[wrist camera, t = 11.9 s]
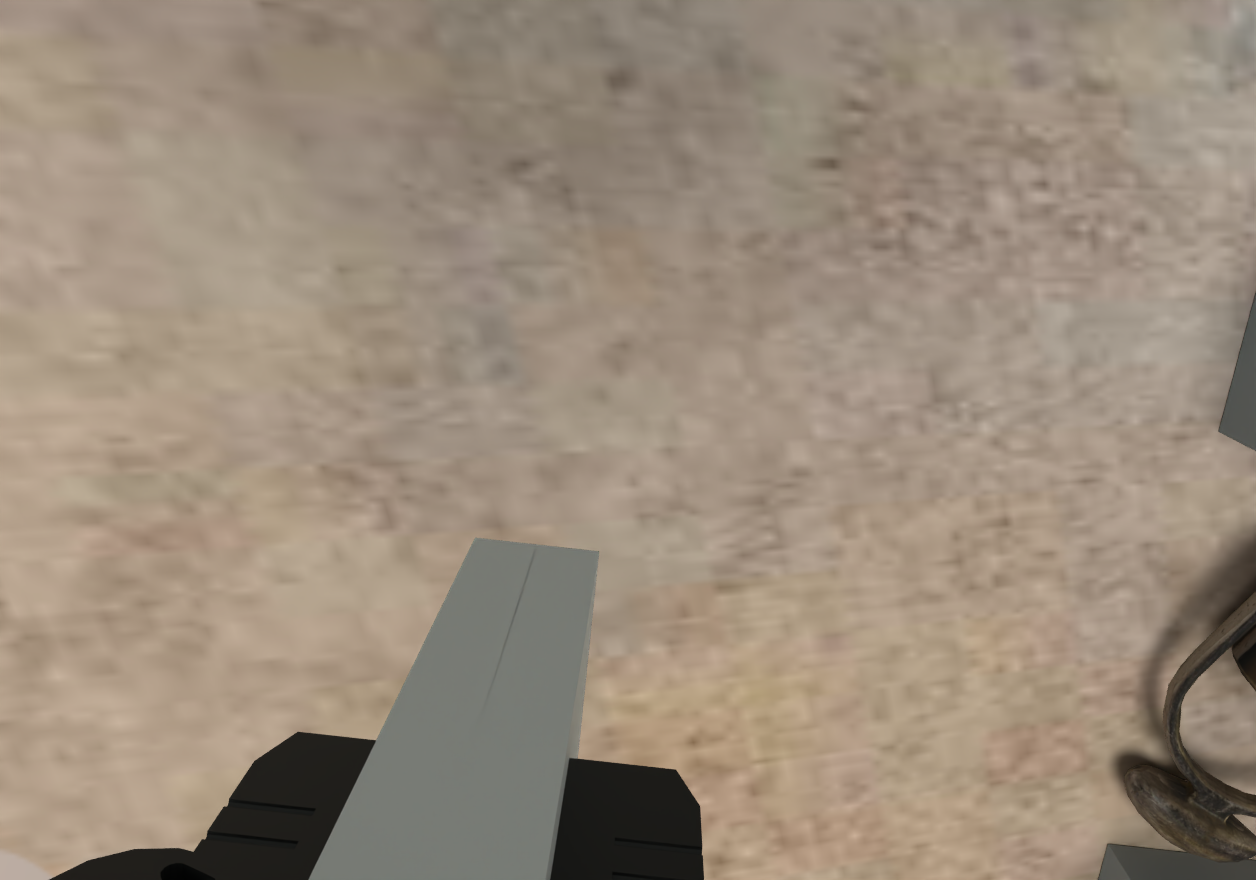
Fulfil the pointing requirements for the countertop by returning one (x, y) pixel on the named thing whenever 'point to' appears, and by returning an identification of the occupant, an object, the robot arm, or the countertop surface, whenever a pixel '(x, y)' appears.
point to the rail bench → (1170, 875)
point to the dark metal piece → (1204, 803)
